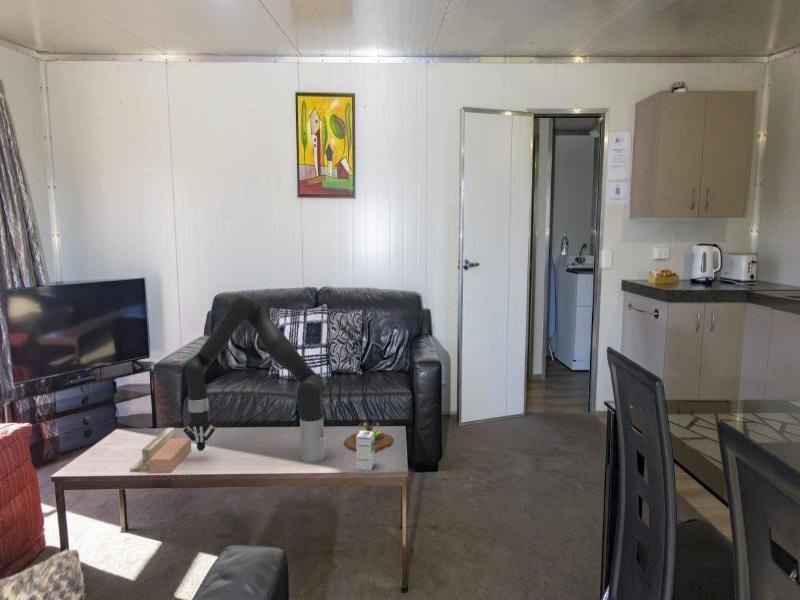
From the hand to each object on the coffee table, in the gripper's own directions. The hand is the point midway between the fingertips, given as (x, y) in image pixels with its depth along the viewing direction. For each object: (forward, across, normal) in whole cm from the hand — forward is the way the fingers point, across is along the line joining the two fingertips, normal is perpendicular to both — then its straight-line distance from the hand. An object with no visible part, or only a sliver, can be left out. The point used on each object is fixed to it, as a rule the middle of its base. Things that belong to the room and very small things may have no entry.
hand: (201, 449), depth 206 cm
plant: (+5, -67, -13) cm, 68 cm away
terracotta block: (+4, +11, +2) cm, 12 cm away
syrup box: (+4, -67, +10) cm, 68 cm away
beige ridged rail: (+4, +17, 0) cm, 17 cm away
